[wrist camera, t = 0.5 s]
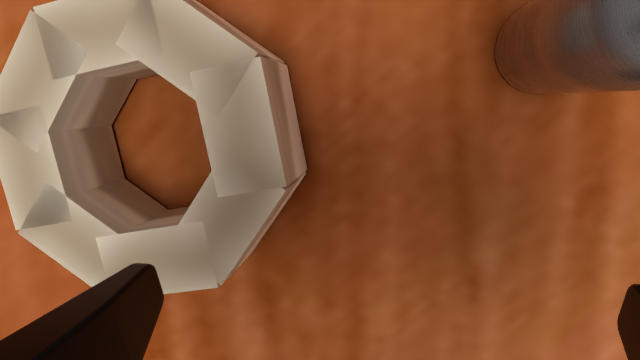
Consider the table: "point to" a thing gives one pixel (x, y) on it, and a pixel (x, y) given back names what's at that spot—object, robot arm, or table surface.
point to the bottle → (571, 46)
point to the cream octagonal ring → (101, 151)
